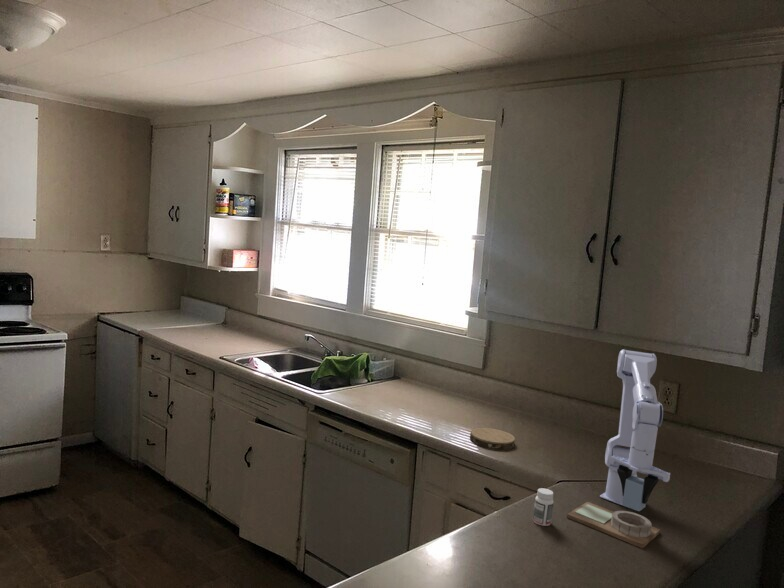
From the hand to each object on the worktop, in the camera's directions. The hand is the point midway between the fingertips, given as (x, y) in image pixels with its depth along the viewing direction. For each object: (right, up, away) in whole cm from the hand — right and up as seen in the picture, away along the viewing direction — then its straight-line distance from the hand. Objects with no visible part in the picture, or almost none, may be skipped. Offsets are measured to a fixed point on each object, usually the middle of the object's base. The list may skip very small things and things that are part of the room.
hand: (634, 499), depth 157 cm
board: (-4, -8, +4) cm, 10 cm away
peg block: (0, -2, 0) cm, 2 cm away
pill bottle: (-24, -7, +1) cm, 25 cm away
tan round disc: (-27, -1, +62) cm, 68 cm away
